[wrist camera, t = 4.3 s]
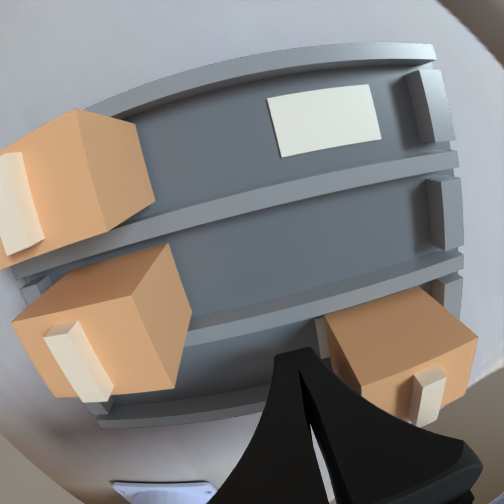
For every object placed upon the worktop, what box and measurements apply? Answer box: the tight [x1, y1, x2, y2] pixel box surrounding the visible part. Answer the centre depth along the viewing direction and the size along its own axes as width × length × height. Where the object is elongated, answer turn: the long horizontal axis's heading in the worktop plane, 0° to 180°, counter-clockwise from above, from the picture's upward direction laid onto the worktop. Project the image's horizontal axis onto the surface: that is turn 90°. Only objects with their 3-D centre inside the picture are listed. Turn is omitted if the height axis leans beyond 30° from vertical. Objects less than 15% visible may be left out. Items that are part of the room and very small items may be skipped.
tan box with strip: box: [11, 243, 192, 403], centre depth 8 cm, size 3×4×5 cm, turn 104°
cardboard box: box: [324, 286, 478, 428], centre depth 9 cm, size 3×4×5 cm, turn 104°
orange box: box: [0, 108, 155, 270], centre depth 7 cm, size 3×4×5 cm, turn 104°
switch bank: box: [11, 43, 464, 428], centre depth 11 cm, size 13×18×2 cm
